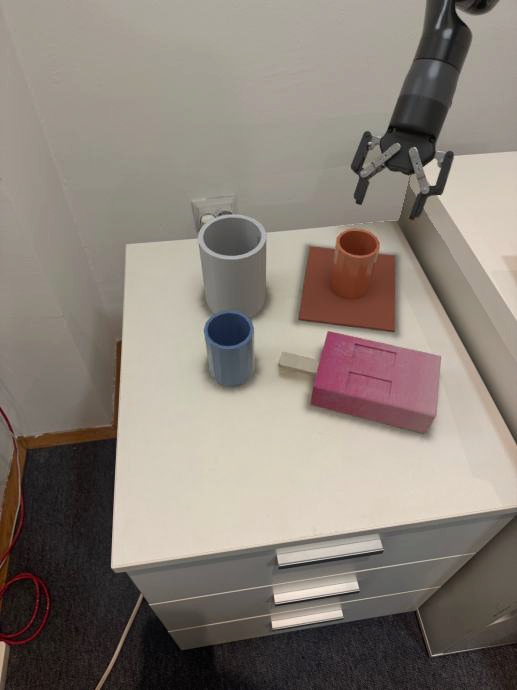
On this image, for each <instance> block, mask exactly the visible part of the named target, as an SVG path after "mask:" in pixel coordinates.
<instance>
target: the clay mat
mask: <svg viewBox="0 0 517 690" xmlns="http://www.w3.org/2000/svg"><path fill="white" fill-rule="evenodd" d="M334 252H335V248H331V247H330V248H329V247H320V246H314V245H313V246H311V245H309V247H308V255H307V260H306V261H307V262H306V269H305V274H304V280H303V287H302V293H301V301H300V307H299V313H298V321H302V322H303V321H304V322H309V323H310V322H311V323H318V324H327V325H335V326H342V327H343V326H344V327H352V328H357V329H358V328H359V329H366V330H375V331H383V332H391V333H395V332H396V255H394V254H384V253H378V257H377V260H376V264H375V268H374V272H373V276H372V280H371V284H370V287H369V290H368V292H367V293H366V294H365V295H364V296H363V297H361V298H358V299H345V298H342V297H340V296H338V295H336V294H335V293H334V292H333V291H332V290H331V288H330V276H331V270H332V264H333V258H334Z"/></svg>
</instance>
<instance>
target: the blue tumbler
mask: <svg viewBox="0 0 517 690" xmlns="http://www.w3.org/2000/svg"><path fill="white" fill-rule="evenodd" d="M203 335H204V342H205V349H206V356H207V363H208V369H209V374H210V376H211V378H212V379H213V381H215V382H216V383H217V384H219V385H221V386H223V387H228V388H229V387H230V388H232V387H234V388H235V387H239V386H241V385H244V384H245V383H247V382H248V381H249V380H250V379H251V378H252V377H253V375H254V372H255V327H254V324H253V321H252V320H251V318H250V317H248V316H247V315H245V314H243V313H241V312H239V311H232V310H227V311H221V312H218V313H216V314H215V313H213V315H211V316H210V317H209V318H208V319H207V320H206V321H205V324H204V326H203Z"/></svg>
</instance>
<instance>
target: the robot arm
mask: <svg viewBox="0 0 517 690" xmlns="http://www.w3.org/2000/svg"><path fill="white" fill-rule="evenodd" d="M500 2H501V0H425V8H424V17H423V24H422V32H421V35H420V39H419V42H418V45H417V48H416V50H415V53H414V56H413V59H412V62H411V64H410V67H409V69H408V71H407V73H406V75H405V77H404V80H403V83H402V85H401V88H400V91H399V94H398V97H397V99H396V103H395V106H394V109H393V112H392V115H391V117H390V120H389V123H388V125H387V129H386V131H385V133H384V134H383V135H382V136H378V135H376V134H372V132H371V131H369V130H366V131H364V132H363V134H362V137H361V139H360V142H359V143H358V146H357V149H356V151H355V154H354V157H353V159H352V161H351V164H350V169H351V171H352V172H353V173H354V174H356V175H357V176H358V181H357V183H356V187H355V189H354V193H353V199H354V200H355V204H356V205H359V206H362V205H363V203H364V201H365V197H366V195H367V192H368V188H369V186H370V181H369V180H371V179H372V178H373V177H374V176H376V175H377V174H379V173H381V172H382V171H384V170H385V169H388V170H389V171H390V172H394V173H401V174H403V175H404V176H412V175H415V177H416V180H417V183H418V187H419V190H420V191H419V192H418V193H417V194H416V197H415V200H414V202H413V205H412V208H411V210H410V213H409V215H408V216H409V217H408V220H410V221H415V219H416V218H417V219H418V218H420V217H421V215H422V213H423V210H424V208H425V205H426V203H427V201H428V198H429V197H433V196H438V195H440V196H442V195H443V193H444V192H445V188H446V185H447V181H448V178H449V175H450V173H451V169H452V166H453V162H454V158H455V153H454V151H452V150H448V151H441V150H437V149H436V146H437V143H438V141H439V137H440V135H441V132H442V130H443V126H444V124H445V121H446V118H447V115H448V114H449V110H450V109H451V107H452V105H453V99H454V97H455V94H456V91H457V86H458V84H459V83H458V82H459V78H460V76H461V73H462V70H463V67H464V65H465V63H466V59H467V57H468V54H469V51H470V49H471V45H472V42H473V32H472V30H471V28H470V27H469V25H468V24H467V23H466V22H465V21H464V20H462V18H461V17H460V16H459V14H458V13H457V10H458V11H461V12H463V13H464V14H466V15H469V16H473V17H474V16H475V17H478V16H479V17H480V16H483V15H486V14H488V13H490V12H491V11H493V10H494V8H495V7H496V6H497V5H498V4H499V3H500ZM376 146H379V149H380V152H381V153H380V155H378V156H377V157H376V158H375V159H374V160H372V161H371V163H369V164H368V165H367V166H366V167H363V166H364V164H365V162H366V159H367V156H368V154H369V152H370V151H373V150H374V149H375V147H376ZM434 159H435V160H436V161H437V162H436V165H437V167H438V168H440V169H439V173H438V175H437V179H436V181H435V185H429V182H428V180H427V177H426V174H425V173H426V172H425V169H424V168H425V167H426V166H427V165H428V164H430V163H431V162H432V161H433V160H434Z"/></svg>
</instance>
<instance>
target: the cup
mask: <svg viewBox="0 0 517 690" xmlns="http://www.w3.org/2000/svg"><path fill="white" fill-rule="evenodd" d="M197 241H198V242H197V244H198V250H199V257H200V265H201V274H202V279H203V288H204V296H205V301H206V305H207V307H208V309H209V310H210V312H212V313H213V314H216V313H218V312H221V311H227V310H232V311H239V312H241V313H243V314H245V315H247V316H248V318H250V317H253V316H255V315H256V314H258V313H259V312H260V311H261V310H262V308H263V307H264V305H265V303H266V299H267V293H266V292H267V231H266V228H265V227H264V226H263V224H262V223H261V222H259V221H258V220H257V219H255V218H253V217H251V216H247V215H243V214H236V213H231V214H230V213H229V214H223V215H219V216H216V217H214V218H212V219H209V221H207V222H205V223H204V224H203V225H202V226H201V228H200V230H199V231H198V235H197Z"/></svg>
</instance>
